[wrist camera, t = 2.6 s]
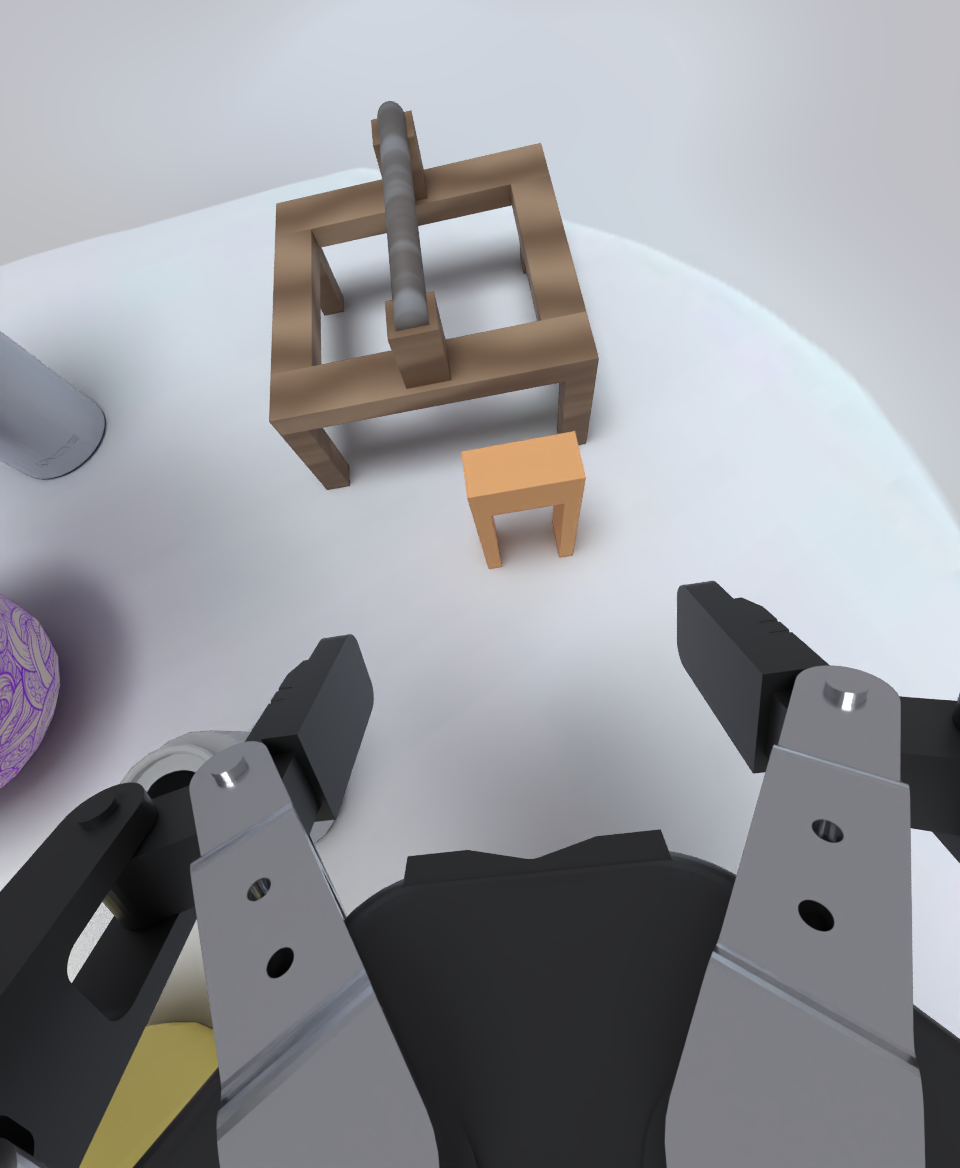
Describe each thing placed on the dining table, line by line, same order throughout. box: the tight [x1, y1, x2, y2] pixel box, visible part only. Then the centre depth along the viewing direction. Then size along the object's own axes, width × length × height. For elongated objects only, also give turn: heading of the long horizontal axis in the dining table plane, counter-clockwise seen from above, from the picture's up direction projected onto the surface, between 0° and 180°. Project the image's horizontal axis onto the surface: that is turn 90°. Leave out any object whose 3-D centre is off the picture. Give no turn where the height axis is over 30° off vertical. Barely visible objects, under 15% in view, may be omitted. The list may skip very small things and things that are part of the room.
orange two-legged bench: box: [461, 431, 586, 569], centre depth 31 cm, size 3×6×11 cm, turn 97°
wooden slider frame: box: [269, 101, 599, 490], centre depth 36 cm, size 22×22×14 cm
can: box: [120, 731, 334, 844], centre depth 27 cm, size 8×8×12 cm
